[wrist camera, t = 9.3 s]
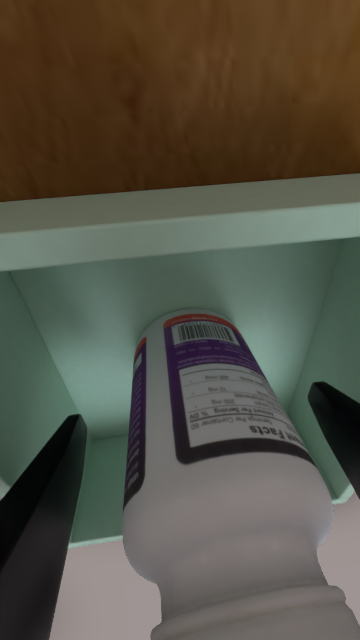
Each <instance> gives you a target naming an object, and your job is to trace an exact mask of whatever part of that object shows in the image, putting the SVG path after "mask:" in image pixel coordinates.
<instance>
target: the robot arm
mask: <svg viewBox="0 0 360 640" xmlns="http://www.w3.org/2000/svg"><path fill="white" fill-rule="evenodd" d="M308 402H309V404H310V406H311V408H312V411H313V413H314V415H315V417H316V419H317V422H318V424H319V426H320V428H321V431H322V433H323V435H324V437H325V439H326V441H327V443H328V445H329V446H330V448H331V450H332V452H333V453H334V455H335V457H336V459H337V460H338V462H339V464H340V466H341V467H342V469H343V471H344V473H345V474H346V476H347V478H348V480H349V481H350V483H351V485H352V487H353V488H354V490H355V492H356V494H357V495H358V497H359V499H360V403H358V402H357V401H355V400H354V399H352V398H350V397H349V396H347V395H346V394H344V393H342V392H341V391H339V390H338V389H336V388H334V387H333V386H331V385H330V384H328V383H326V382H324V381H318V382H313V383H312V385H311V387H310V390H309V393H308ZM86 441H87V425H86V423H85V421H84V419H83V417H82V415H81V414H73V415H69V416H68V417H67V418H66V419H65V420H64V422H63V423H62V424H61V425H60V427H59V428H58V429H57V430H56V432H55V433H54V434H53V435H52V437H51V438H50V439H49V440H48V442H47V443H46V444H45V445H44V447H43V448H42V449H41V450H40V452H39V453H38V454H37V455H36V457H35V458H34V459H33V460H32V462H31V463H30V464H29V465H28V467H27V468H26V469H25V470H24V472H23V473H22V474H21V475H20V477H19V478H18V479H17V480H16V482H15V483H14V484H13V485H12V487H11V488H10V489H9V490H8V492H7V493H6V494H5V496H4V497H3V498H2V499H1V501H0V640H49V637H50V632H51V628H52V622H53V618H54V613H55V608H56V603H57V599H58V594H59V588H60V584H61V579H62V574H63V570H64V565H65V560H66V555H67V550H68V546H69V541H70V536H71V531H72V526H73V521H74V517H75V512H76V507H77V502H78V497H79V492H80V488H81V483H82V477H83V470H84V461H85V451H86Z"/></svg>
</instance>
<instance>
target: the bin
mask: <svg viewBox="0 0 360 640" xmlns="http://www.w3.org/2000/svg"><path fill="white" fill-rule="evenodd" d="M189 308H200V309H206V310H211V311H214V312H217V313H219V314H221V315H223V316H225V317H226V318H228V319H229V320H230V321H231V322H232V323H233V324H234V325H235V326H236V327H237V329H238V330H239V332H240V333H241V335H242V336H243V338H244V340H245V342H246V343H247V345H248V347H249V349H250V350H251V352H252V354H253V356H254V357H255V359H256V361H257V363H258V365H259V366H260V368H261V370H262V372H263V373H264V375H265V377H266V379H267V381H268V382H269V384H270V386H271V388H272V389H273V391H274V393H275V395H276V397H277V398H278V400H279V402H280V404H281V406H282V407H283V409H284V411H285V412H286V414H287V416H288V418H289V419H290V421H291V423H292V424H293V426H294V428H295V430H296V432H297V433H298V435H299V437H300V439H301V440H302V442H303V444H304V446H305V447H306V449H307V451H308V452H309V454H310V456H311V458H312V460H313V461H314V463H315V465H316V467H317V468H318V470H319V473H320V475H321V477H322V479H323V480H324V482H325V484H326V486H327V488H328V490H329V493H330V496H331V499H332V504H333V505H334V504H340V503H345V502H346V501H347V500H348V498H349V497H350V496H351V495H352V493H353V492H354V491H355V490H354V488H353V487H352V485H351V483H350V481H349V480H348V478H347V476H346V474H345V473H344V471H343V469H342V467H341V466H340V464H339V462H338V460H337V459H336V457H335V455H334V453H333V452H332V450H331V448H330V446H329V445H328V443H327V441H326V439H325V437H324V435H323V433H322V431H321V428H320V426H319V424H318V422H317V419H316V417H315V415H314V413H313V411H312V408H311V406H310V404H309V402H308V393H309V390H310V387H311V385H312V383H313V382H318V381H324V382H326V383H328V384H330V385H331V386H333V387H334V388H336V389H338V390H339V391H341V392H342V393H344V394H346V395H347V396H349V397H350V398H352V399H354V400H355V401H357V402H358V403H360V173H357V174H344V175H332V176H319V177H307V178H295V179H282V180H270V181H257V182H245V183H232V184H220V185H207V186H195V187H183V188H170V189H158V190H145V191H133V192H120V193H108V194H95V195H83V196H70V197H58V198H46V199H33V200H21V201H8V202H0V497H2V498H3V497H4V496H5V494H6V493H7V492H8V490H9V489H10V488H11V487H12V485H13V484H14V483H15V482H16V480H17V479H18V478H19V477H20V475H21V474H22V473H23V472H24V470H25V469H26V468H27V467H28V465H29V464H30V463H31V462H32V460H33V459H34V458H35V457H36V455H37V454H38V453H39V452H40V450H41V449H42V448H43V447H44V445H45V444H46V443H47V442H48V440H49V439H50V438H51V437H52V435H53V434H54V433H55V432H56V430H57V429H58V428H59V427H60V425H61V424H62V423H63V422H64V420H65V419H66V418H67V417H68V416H69V415H73V414H81V415H82V417H83V419H84V421H85V423H86V425H87V441H86V451H85V461H84V470H83V477H82V483H81V488H80V492H79V497H78V502H77V507H76V512H75V517H74V521H73V526H72V531H71V536H70V541H69V546H68V548H74V547H80V546H86V545H92V544H98V543H104V542H110V541H115V540H122V539H123V534H122V527H123V504H124V489H125V475H126V463H127V449H128V434H129V421H130V407H131V393H132V378H133V363H134V355H135V349H136V345H137V343H138V341H139V339H140V337H141V335H142V334H143V332H144V331H145V330H146V329H147V328H148V327H149V326H150V325H151V324H152V323H153V322H154V321H156V320H157V319H159V318H161V317H162V316H164V315H166V314H169V313H171V312H174V311H177V310H182V309H189Z"/></svg>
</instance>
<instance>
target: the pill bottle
mask: <svg viewBox="0 0 360 640" xmlns="http://www.w3.org/2000/svg"><path fill="white" fill-rule="evenodd" d="M332 522H333V504H332V499H331V496H330V493H329V490H328V488H327V486H326V484H325V482H324V480H323V479H322V477H321V475H320V473H319V470H318V468H317V467H316V465H315V463H314V461H313V460H312V458H311V456H310V454H309V452H308V451H307V449H306V447H305V446H304V444H303V442H302V440H301V439H300V437H299V435H298V433H297V432H296V430H295V428H294V426H293V424H292V423H291V421H290V419H289V418H288V416H287V414H286V412H285V411H284V409H283V407H282V406H281V404H280V402H279V400H278V398H277V397H276V395H275V393H274V391H273V389H272V388H271V386H270V384H269V382H268V381H267V379H266V377H265V375H264V373H263V372H262V370H261V368H260V366H259V365H258V363H257V361H256V359H255V357H254V356H253V354H252V352H251V350H250V349H249V347H248V345H247V343H246V342H245V340H244V338H243V336H242V335H241V333H240V332H239V330H238V329H237V327H236V326H235V325H234V324H233V323H232V322H231V321H230V320H229V319H228V318H226V317H225V316H223V315H221V314H219V313H217V312H214V311H211V310H206V309H200V308H189V309H182V310H177V311H174V312H171V313H169V314H166V315H164V316H162V317H161V318H159V319H157V320H156V321H154V322H153V323H152V324H151V325H150V326H149V327H148V328H147V329H146V330H145V331H144V332H143V334H142V335H141V337H140V339H139V341H138V343H137V345H136V349H135V355H134V363H133V378H132V393H131V407H130V421H129V434H128V449H127V463H126V475H125V489H124V504H123V527H122V534H123V544H124V549H125V553H126V556H127V558H128V560H129V562H130V564H131V566H132V567H133V568H134V570H135V571H136V572H137V573H138V574H139V575H140V576H142V577H143V578H145V579H147V580H148V581H151V582H153V583H156V584H157V585H158V588H159V590H160V595H161V612H162V622H161V623H160V624H159V625H157V626H156V627H155V628H154V629H153V630H152V632H151V640H360V626H359V624H358V622H357V620H356V618H355V615H354V613H353V611H352V610H351V609H350V608H349V607H348V606H347V605H346V604H345V600H346V598H345V594H344V592H343V591H342V590H341V589H340V588H339V587H337V586H329V585H328V583H327V581H326V579H325V577H324V575H323V572H322V570H321V567H320V565H319V563H318V559H317V554H316V551H317V548H318V547H319V546H320V545H321V544H322V543H323V542H324V540H325V539H326V538H327V536H328V534H329V532H330V530H331V526H332Z"/></svg>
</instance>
